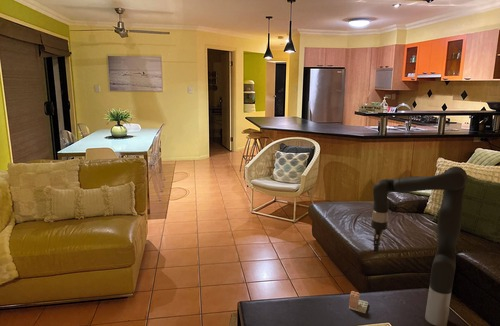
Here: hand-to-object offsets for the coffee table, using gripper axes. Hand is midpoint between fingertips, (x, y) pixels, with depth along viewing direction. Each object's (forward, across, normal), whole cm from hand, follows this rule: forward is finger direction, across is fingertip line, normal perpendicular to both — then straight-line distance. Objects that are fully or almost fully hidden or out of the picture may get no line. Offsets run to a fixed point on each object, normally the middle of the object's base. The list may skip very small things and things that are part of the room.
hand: (377, 248), depth 184 cm
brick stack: (+26, -14, +7) cm, 31 cm away
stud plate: (+28, -12, +5) cm, 31 cm away
